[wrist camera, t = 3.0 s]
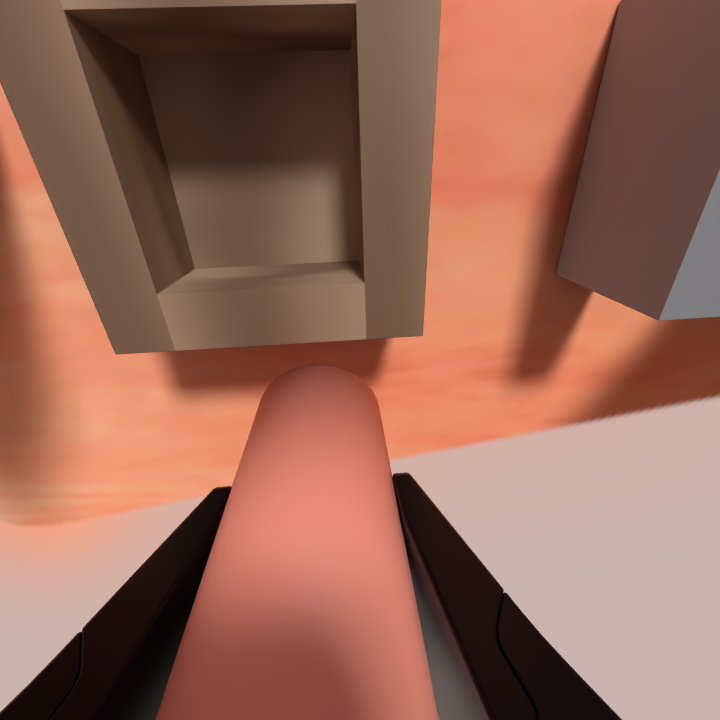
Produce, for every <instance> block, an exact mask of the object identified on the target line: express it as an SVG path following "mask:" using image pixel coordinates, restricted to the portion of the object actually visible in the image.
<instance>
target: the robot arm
mask: <svg viewBox="0 0 720 720" xmlns="http://www.w3.org/2000/svg"><path fill="white" fill-rule="evenodd" d="M392 479H393V484H394V489H395V494H396V500H397V505H398V510H399V515H400V520H401V525H402V530H403V535H404V540H405V546H406V551H407V556H408V561H409V567H410V572H411V577H412V582H413V587H414V593H415V598H416V603H417V608H418V613H419V619H420V624H421V629H422V634H423V640H424V645H425V650H426V655H427V660H428V666H429V671H430V676H431V681H432V686H433V692H434V697H435V702H436V707H437V712H438V716H439V720H622V719H621V718H620V717H619V716H618V715H617V714H616V713H615V712H614V711H613V710H612V709H611V708H610V707H609V706H608V705H607V704H606V703H605V702H604V701H603V700H602V698H600V697H599V696H598V695H597V693H596V692H595V691H594V690H593V689H592V688H591V687H590V686H589V685H588V684H587V683H586V682H585V681H584V680H583V679H582V678H581V677H580V676H579V675H578V674H577V672H576V671H575V670H574V669H573V668H572V667H571V666H570V665H569V664H568V663H567V662H566V661H565V660H564V659H563V658H562V657H561V655H560V654H559V653H557V651H556V650H555V649H554V648H553V647H552V646H551V645H550V644H549V643H548V642H547V640H546V639H545V638H544V637H543V636H542V635H541V634H540V633H539V631H538V630H537V629H536V628H535V627H534V626H533V624H532V623H531V622H530V621H529V620H528V619H527V617H526V616H525V615H524V614H523V613H522V611H521V610H520V609H519V608H518V607H517V605H516V604H515V603H514V602H513V600H512V599H511V598H510V597H509V595H508V594H507V593H503V588H502V587H501V586H500V584H499V583H498V582H497V581H496V580H495V578H494V577H493V576H492V575H491V574H490V572H489V571H488V570H487V568H486V567H485V566H484V565H483V564H482V562H481V561H480V560H479V559H478V558H477V556H476V555H475V554H474V552H472V550H471V549H470V548H469V547H468V545H467V544H466V543H465V541H464V540H463V539H462V538H461V536H460V535H459V534H458V533H457V532H456V530H455V529H454V528H453V527H452V525H451V524H450V523H449V522H448V520H447V519H446V518H445V517H444V515H443V514H442V513H441V512H440V511H439V509H438V508H437V507H436V506H435V504H434V503H433V502H432V501H431V499H430V498H429V497H428V496H427V495H426V493H425V492H424V491H423V490H422V488H421V487H420V486H419V485H418V483H417V482H416V481H415V480H414V479H413V477H412V476H411V475H410V474H409V473H395V474H394V475H393V478H392ZM231 488H232V487H230V486H226V487H217V488H215V489H213V490H212V491H211V492H210V493H209V494H208V495H207V496H206V498H205V499H204V500H203V501H202V502H201V503H200V504H199V505H198V506H197V507H196V508H195V509H194V510H193V511H192V512H191V513H190V515H189V516H188V517H187V518H186V519H185V520H184V521H183V522H182V523H181V524H180V525H179V526H178V527H177V528H176V530H175V531H174V532H173V533H172V534H171V535H170V536H169V537H168V538H167V539H166V540H165V541H164V542H163V543H162V544H161V545H160V546H159V548H158V549H157V550H156V551H155V552H154V553H153V554H152V555H151V556H150V557H149V558H148V559H147V560H146V561H145V563H143V565H142V566H141V567H140V568H139V569H138V570H137V571H136V572H135V573H134V574H133V575H132V576H131V577H130V578H129V580H128V581H127V582H126V583H125V584H124V585H123V586H122V587H121V588H120V589H119V590H118V591H117V592H116V593H115V594H114V595H113V596H112V598H111V599H110V600H109V601H108V602H107V603H106V604H105V605H104V606H103V607H102V608H101V609H100V610H99V611H98V612H97V613H96V615H95V616H94V617H93V618H92V619H91V620H90V621H89V622H88V623H87V624H86V625H85V626H84V627H83V630H82V632H79V633H77V635H76V636H75V637H74V638H73V639H72V640H71V641H70V642H69V643H68V644H67V645H66V646H65V647H64V648H63V649H62V650H61V652H60V653H59V654H58V655H57V656H56V657H55V658H54V659H53V660H52V661H51V662H50V663H49V664H48V665H47V666H46V667H45V668H44V669H43V670H42V671H41V672H40V673H39V674H38V675H37V676H36V677H35V678H34V679H33V680H32V682H31V683H30V684H29V685H28V686H27V687H26V688H24V690H22V691H21V692H20V693H19V695H17V696H16V697H15V698H14V699H13V700H12V701H11V702H10V703H9V704H8V705H7V706H6V707H5V708H4V709H3V710H2V711H1V712H0V720H155V719H156V716H157V713H158V710H159V707H160V704H161V701H162V698H163V695H164V691H165V688H166V685H167V682H168V679H169V676H170V673H171V670H172V667H173V664H174V661H175V658H176V655H177V652H178V649H179V646H180V643H181V640H182V637H183V634H184V631H185V628H186V625H187V622H188V619H189V616H190V613H191V610H192V607H193V604H194V601H195V598H196V594H197V591H198V588H199V585H200V582H201V579H202V576H203V573H204V570H205V567H206V564H207V561H208V558H209V555H210V552H211V549H212V546H213V543H214V540H215V537H216V534H217V531H218V528H219V525H220V522H221V519H222V516H223V513H224V510H225V507H226V504H227V501H228V498H229V494H230V491H231Z"/></svg>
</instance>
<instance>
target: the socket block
mask: <svg viewBox="0 0 720 720" xmlns="http://www.w3.org/2000/svg"><path fill="white" fill-rule="evenodd" d="M440 15H441V0H0V83H1V85H2V87H3V90H4V92H5V94H6V97H7V99H8V102H9V104H10V106H11V109H12V111H13V113H14V116H15V118H16V120H17V123H18V125H19V128H20V130H21V132H22V135H23V137H24V139H25V142H26V144H27V146H28V149H29V151H30V153H31V156H32V158H33V161H34V163H35V165H36V168H37V170H38V172H39V175H40V177H41V179H42V182H43V184H44V187H45V189H46V191H47V194H48V196H49V198H50V201H51V203H52V205H53V208H54V210H55V213H56V215H57V217H58V220H59V222H60V224H61V227H62V229H63V231H64V234H65V236H66V238H67V241H68V243H69V246H70V248H71V250H72V253H73V255H74V257H75V260H76V262H77V264H78V267H79V269H80V272H81V274H82V276H83V279H84V281H85V283H86V286H87V288H88V290H89V293H90V295H91V297H92V300H93V302H94V305H95V307H96V309H97V312H98V314H99V316H100V319H101V321H102V323H103V326H104V328H105V331H106V333H107V335H108V338H109V340H110V342H111V345H112V347H113V349H114V352H115V354H132V353H148V352H165V351H181V350H198V349H214V348H231V347H247V346H264V345H280V344H297V343H313V342H330V341H346V340H363V339H379V338H396V337H412V336H423V322H424V304H425V286H426V268H427V250H428V232H429V214H430V196H431V178H432V160H433V142H434V123H435V105H436V87H437V69H438V51H439V33H440Z"/></svg>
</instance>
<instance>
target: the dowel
mask: <svg viewBox="0 0 720 720" xmlns="http://www.w3.org/2000/svg"><path fill="white" fill-rule="evenodd" d="M155 720H439V718H438V712H437V707H436V702H435V697H434V692H433V686H432V681H431V676H430V671H429V666H428V660H427V655H426V650H425V645H424V640H423V634H422V629H421V624H420V619H419V613H418V608H417V603H416V598H415V593H414V587H413V582H412V577H411V572H410V567H409V561H408V556H407V551H406V546H405V540H404V535H403V530H402V525H401V520H400V515H399V510H398V505H397V500H396V494H395V489H394V484H393V479H392V473H391V468H390V462H389V457H388V452H387V447H386V441H385V436H384V431H383V426H382V421H381V415H380V410H379V405H378V402H377V399H376V397H375V394H374V393H373V391H372V390H371V388H370V387H369V386H368V385H367V383H365V382H364V381H363V380H362V379H361V378H360V377H358V376H357V375H355V374H353V373H351V372H349V371H347V370H345V369H342V368H339V367H334V366H329V365H308V366H303V367H299V368H295V369H293V370H290V371H288V372H286V373H284V374H282V375H281V376H279V377H278V378H276V379H275V380H274V381H273V382H272V383H271V384H270V385H269V386H268V388H267V389H266V390H265V392H264V394H263V396H262V398H261V401H260V404H259V407H258V410H257V413H256V416H255V419H254V422H253V425H252V428H251V431H250V434H249V437H248V440H247V443H246V446H245V449H244V452H243V455H242V458H241V461H240V464H239V467H238V470H237V473H236V476H235V479H234V482H233V485H232V488H231V491H230V494H229V498H228V501H227V504H226V507H225V510H224V513H223V516H222V519H221V522H220V525H219V528H218V531H217V534H216V537H215V540H214V543H213V546H212V549H211V552H210V555H209V558H208V561H207V564H206V567H205V570H204V573H203V576H202V579H201V582H200V585H199V588H198V591H197V594H196V598H195V601H194V604H193V607H192V610H191V613H190V616H189V619H188V622H187V625H186V628H185V631H184V634H183V637H182V640H181V643H180V646H179V649H178V652H177V655H176V658H175V661H174V664H173V667H172V670H171V673H170V676H169V679H168V682H167V685H166V688H165V691H164V695H163V698H162V701H161V704H160V707H159V710H158V713H157V716H156V719H155Z"/></svg>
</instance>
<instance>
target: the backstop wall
mask: <svg viewBox="0 0 720 720" xmlns="http://www.w3.org/2000/svg"><path fill="white" fill-rule="evenodd" d="M556 275H558V276H560V277H562V278H565V279H567V280H569V281H571V282H574V283H576V284H578V285H580V286H583V287H585V288H587V289H589V290H592V291H594V292H596V293H598V294H601V295H603V296H605V297H607V298H609V299H612V300H614V301H616V302H618V303H621V304H623V305H625V306H627V307H630V308H632V309H634V310H636V311H639V312H641V313H643V314H645V315H648V316H650V317H652V318H654V319H656V320H675V319H691V318H708V317H720V0H621V1H620V3H619V8H618V12H617V16H616V20H615V25H614V29H613V33H612V37H611V42H610V46H609V50H608V54H607V59H606V63H605V67H604V71H603V76H602V80H601V84H600V88H599V93H598V97H597V101H596V105H595V110H594V114H593V118H592V122H591V127H590V131H589V135H588V139H587V144H586V148H585V152H584V156H583V161H582V165H581V169H580V173H579V178H578V182H577V186H576V190H575V195H574V199H573V203H572V207H571V211H570V216H569V220H568V224H567V228H566V233H565V237H564V241H563V245H562V250H561V254H560V258H559V262H558V267H557V271H556Z"/></svg>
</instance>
